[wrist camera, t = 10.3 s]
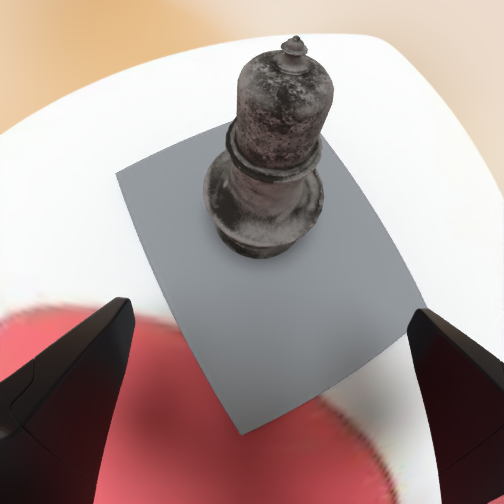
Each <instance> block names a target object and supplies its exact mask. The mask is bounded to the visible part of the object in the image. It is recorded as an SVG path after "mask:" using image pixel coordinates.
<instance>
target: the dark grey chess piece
mask: <svg viewBox="0 0 504 504" xmlns="http://www.w3.org/2000/svg"><path fill="white" fill-rule="evenodd" d="M281 48H282V50H276V51H269V52H265V53H262V54H260V55H258V56H256V57H254V58H253V59H252V60H250V61H249V62H248V63H247V64H246V65H245V66H244V67H243V69H242V71H241V73H240V75H239V78H238V85H237V117H236V118H235V119H234V120H233V121H232V123H231V124H230V125H229V128H228V130H227V133H226V141H225V146H226V150H224V151H223V152H222V153H220V154H219V155H218V156H217V157H216V158H215V160H214V161H213V162H212V164H211V165H210V166H209V168H208V171H207V173H206V176H205V179H204V186H203V197H204V201H205V205H206V209H207V211H208V213H209V215H210V216H211V218H212V220H213V222H214V223H215V226H216V230H217V233H218V234H219V236H220V238H221V239H222V241H223V242H224V243H225V244H226V245H227V246H228V247H229V248H230V249H231V250H233V251H235V252H236V253H238V254H240V255H242V256H245V257H249V258H253V259H267V258H270V257H274V256H278V255H279V254H281V253H283V252H285V251H286V250H288V249H289V248H290V247H291V246H292V245H293V244H294V243H295V242H296V240H297V239H299V238H301V237H302V236H304V235H305V234H306V233H307V232H308V231H309V230H310V229H311V228H312V227H313V226H314V225H315V224H316V222H317V220H318V218H319V216H320V214H321V212H322V208H323V202H324V190H323V183H322V180H321V178H320V175H319V173H318V171H317V169H316V166H317V165H318V163H319V161H320V159H321V155H322V149H323V147H322V140H321V137H320V135H319V134H320V132H321V129H322V127H323V124H324V122H325V120H326V117H327V115H328V112H329V110H330V108H331V105H332V102H333V93H334V87H333V83H332V80H331V78H330V77H329V75H328V73H327V72H326V70H325V69H324V67H323V66H322V65H320V64H319V63H318V62H317V61H315V60H314V59H312V58H310V57H308V56H306V55H305V54H307V51H308V49H307V48H306V46H305V45H304V43H303V41H302V40H300V37H299V36H294V37H293V38H290V39H288V41H286V42H284V43H282V45H281Z"/></svg>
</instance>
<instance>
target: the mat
mask: <svg viewBox="0 0 504 504" xmlns="http://www.w3.org/2000/svg"><path fill="white" fill-rule="evenodd" d="M231 123H232V121H231V122H228V123H226V124H223V125H220V126H218V127H215V128H213V129H210V130H208V131H205V132H203V133H200V134H198V135H195V136H193V137H191V138H188V139H186V140H184V141H181V142H179V143H177V144H175V145H172V146H170V147H168V148H166V149H164V150H161V151H159V152H157V153H155V154H153V155H151V156H149V157H147V158H145V159H143V160H141V161H139V162H137V163H135V164H133V165H131V166H129V167H127V168H125V169H123V170H121V171H119V172H117V173H115V174H116V177H117V180H118V183H119V186H120V188H121V191H122V194H123V197H124V200H125V203H126V205H127V208H128V211H129V213H130V216H131V219H132V221H133V224H134V227H135V229H136V232H137V234H138V237H139V239H140V242H141V244H142V247H143V249H144V252H145V254H146V256H147V259H148V261H149V263H150V266H151V268H152V270H153V273H154V275H155V277H156V279H157V282H158V284H159V286H160V288H161V290H162V293H163V295H164V297H165V299H166V301H167V303H168V305H169V308H170V310H171V312H172V314H173V316H174V318H175V320H176V322H177V324H178V326H179V328H180V330H181V332H182V334H183V336H184V338H185V340H186V342H187V344H188V346H189V347H190V349H191V351H192V353H193V355H194V357H195V359H196V361H197V362H198V364H199V366H200V368H201V370H202V371H203V373H204V375H205V377H206V379H207V380H208V382H209V384H210V386H211V387H212V389H213V391H214V392H215V394H216V396H217V398H218V399H219V401H220V403H221V404H222V406H223V408H224V409H225V411H226V412H227V414H228V416H229V417H230V419H231V420H232V422H233V424H234V425H235V427H236V428H237V430H238V431H239V433H240V435H241V436H242V435H244V434H246V433H248V432H250V431H252V430H254V429H256V428H259V427H261V426H263V425H265V424H267V423H269V422H271V421H273V420H274V419H276V418H278V417H280V416H282V415H284V414H286V413H288V412H289V411H291V410H293V409H295V408H297V407H298V406H300V405H302V404H304V403H305V402H307V401H309V400H311V399H312V398H314V397H316V396H317V395H319V394H321V393H322V392H324V391H325V390H327V389H329V388H330V387H332V386H333V385H335V384H337V383H338V382H340V381H341V380H343V379H344V378H346V377H347V376H349V375H350V374H352V373H353V372H355V371H356V370H357V369H359V368H360V367H362V366H363V365H365V364H366V363H367V362H369V361H370V360H372V359H373V358H374V357H376V356H377V355H378V354H380V353H381V352H382V351H384V350H385V349H386V348H388V347H389V346H390V345H392V344H393V343H394V342H395V341H397V340H398V339H399V338H400V337H402V336H403V335H404V334H405V333H406V332H407V326H408V324H409V322H410V320H411V318H412V316H413V314H414V312H415V311H416V310H417V309H418V308H427V306H426V304H425V302H424V300H423V298H422V295H421V293H420V291H419V289H418V287H417V285H416V283H415V281H414V279H413V277H412V275H411V274H410V272H409V270H408V268H407V266H406V264H405V262H404V260H403V258H402V257H401V255H400V253H399V251H398V249H397V248H396V246H395V244H394V242H393V241H392V239H391V237H390V235H389V234H388V232H387V230H386V229H385V227H384V225H383V224H382V222H381V220H380V219H379V217H378V215H377V214H376V212H375V211H374V209H373V207H372V206H371V204H370V203H369V201H368V200H367V198H366V196H365V195H364V193H363V192H362V190H361V189H360V187H359V186H358V184H357V183H356V181H355V180H354V178H353V177H352V176H351V174H350V173H349V171H348V170H347V168H346V167H345V166H344V164H343V163H342V161H341V160H340V159H339V157H338V156H337V154H336V153H335V152H334V150H333V149H332V148H331V146H330V145H329V144H328V142H327V141H326V140H325V138H324V137H323V136H322V135H321V133H320V134H319V135H320V137H321V140H322V147H323V149H322V155H321V159H320V161H319V163H318V165H317V166H316V169H317V171H318V173H319V175H320V178H321V180H322V183H323V190H324V202H323V208H322V212H321V214H320V216H319V218H318V220H317V222H316V224H315V225H314V226H313V227H312V228H311V229H310V230H309V231H308V232H307V233H306V234H305V235H304V236H302V237H301V238H299V239H297V240H296V242H295V243H294V244H293V245H292V246H291V247H290V248H289V249H288V250H286V251H285V252H283V253H281V254H279V255H278V256H274V257H270V258H267V259H253V258H249V257H245V256H242V255H240V254H238V253H236V252H235V251H233V250H231V249H230V248H229V247H228V246H227V245H226V244H225V243H224V242H223V241H222V239H221V238H220V236H219V234H218V233H217V230H216V226H215V223H214V222H213V220H212V218H211V216H210V215H209V213H208V211H207V209H206V205H205V201H204V197H203V186H204V179H205V176H206V173H207V171H208V168H209V166H210V165H211V164H212V162H213V161H214V160H215V158H216V157H217V156H218V155H219V154H220V153H222V152H223V151H224V150H226V146H225V141H226V133H227V130H228V128H229V125H230V124H231Z"/></svg>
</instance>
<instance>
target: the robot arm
mask: <svg viewBox="0 0 504 504" xmlns="http://www.w3.org/2000/svg"><path fill="white" fill-rule="evenodd" d="M134 328H135V316H134V312H133V308H132V304H131V301H130V299H128V298H123V297H116V298H114V299H113V300H112V301H110V302H109V303H107V304H106V305H105V306H103V307H102V308H100V309H99V310H98V311H96V312H95V313H93V314H92V315H91V316H89V317H88V318H86V319H85V320H84V321H82V322H81V323H80V324H78V325H77V326H75V327H74V328H73V329H71V330H70V331H69V332H67V333H66V334H65V335H63V336H62V337H61V338H59V339H58V340H57V341H55V342H54V343H53V344H51V345H50V346H49V347H47V348H46V349H45V350H43V351H42V352H41V353H39V354H38V355H37V356H36V357H35V359H32V360H30V361H29V362H28V363H26V364H25V365H24V366H22V367H21V368H20V369H18V370H17V371H16V372H14V373H13V374H12V375H10V376H9V377H7V378H6V379H4V380H3V381H1V382H0V504H93V502H94V497H95V491H96V484H97V480H98V475H99V470H100V466H101V461H102V456H103V452H104V448H105V444H106V440H107V435H108V431H109V428H110V424H111V420H112V416H113V412H114V409H115V405H116V402H117V398H118V395H119V391H120V388H121V385H122V381H123V378H124V375H125V371H126V367H127V363H128V357H129V352H130V347H131V342H132V338H133V333H134ZM407 336H408V340H409V345H410V349H411V354H412V359H413V364H414V369H415V373H416V377H417V380H418V384H419V387H420V391H421V395H422V398H423V402H424V406H425V410H426V414H427V418H428V423H429V427H430V432H431V436H432V441H433V446H434V452H435V457H436V463H437V469H438V476H439V484H440V491H441V500H442V504H504V363H503V362H502V361H500V360H499V359H498V358H497V357H495V356H494V355H493V354H491V353H490V352H489V351H487V350H486V349H485V348H483V347H482V346H481V345H479V344H478V343H476V342H475V341H474V340H472V339H471V338H470V337H468V336H467V335H465V334H464V333H463V332H461V331H460V330H458V329H457V328H456V327H454V326H453V325H451V324H450V323H449V322H447V321H446V320H444V319H443V318H441V317H440V316H439V315H437V314H436V313H434V312H433V311H431V310H430V309H428V308H418V309H417V310H416V311H415V312H414V314H413V316H412V318H411V320H410V322H409V324H408V326H407Z"/></svg>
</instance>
